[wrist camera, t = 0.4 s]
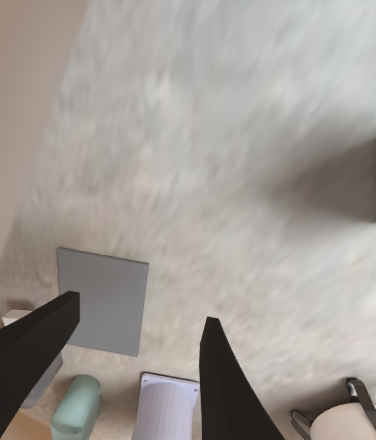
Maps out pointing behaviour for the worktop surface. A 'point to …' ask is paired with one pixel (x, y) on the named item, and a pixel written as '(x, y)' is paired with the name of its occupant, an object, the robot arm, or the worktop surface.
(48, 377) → the plug
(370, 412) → the coffee press
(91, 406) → the teal plug
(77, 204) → the worktop surface
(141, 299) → the mat
